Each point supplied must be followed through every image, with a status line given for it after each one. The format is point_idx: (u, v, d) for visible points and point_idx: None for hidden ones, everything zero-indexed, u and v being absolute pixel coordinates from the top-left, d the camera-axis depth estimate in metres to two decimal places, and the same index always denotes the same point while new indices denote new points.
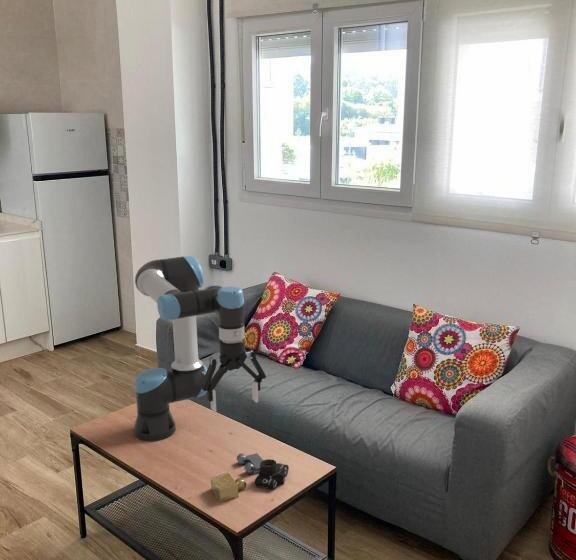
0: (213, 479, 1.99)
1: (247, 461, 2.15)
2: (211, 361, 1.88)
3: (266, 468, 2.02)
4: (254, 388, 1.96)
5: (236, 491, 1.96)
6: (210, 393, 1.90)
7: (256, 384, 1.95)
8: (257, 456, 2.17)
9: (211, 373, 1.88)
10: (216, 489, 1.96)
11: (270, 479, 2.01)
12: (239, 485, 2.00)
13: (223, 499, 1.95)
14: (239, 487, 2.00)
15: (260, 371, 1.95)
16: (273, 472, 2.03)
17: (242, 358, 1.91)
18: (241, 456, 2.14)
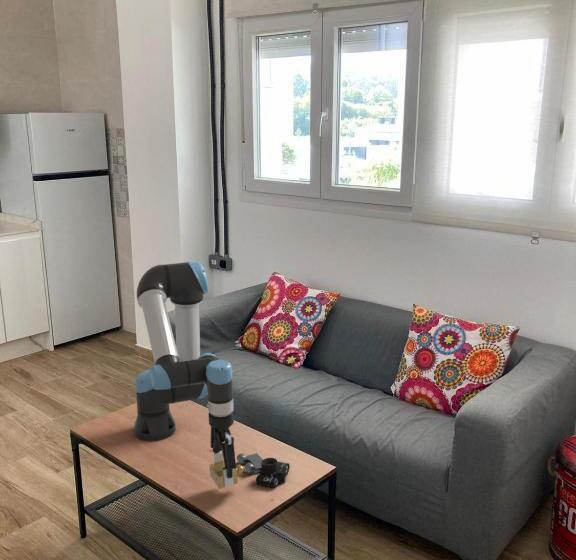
0: (212, 466, 1.99)
1: (247, 461, 2.15)
2: None
3: (267, 466, 2.03)
4: None
5: (235, 478, 1.95)
6: None
7: None
8: (257, 456, 2.17)
9: (211, 433, 2.00)
10: (215, 476, 1.96)
11: (271, 477, 2.02)
12: (238, 472, 1.99)
13: (222, 486, 1.94)
14: (238, 474, 1.99)
15: (226, 460, 1.90)
16: (275, 470, 2.04)
17: (221, 434, 1.91)
18: (241, 456, 2.14)
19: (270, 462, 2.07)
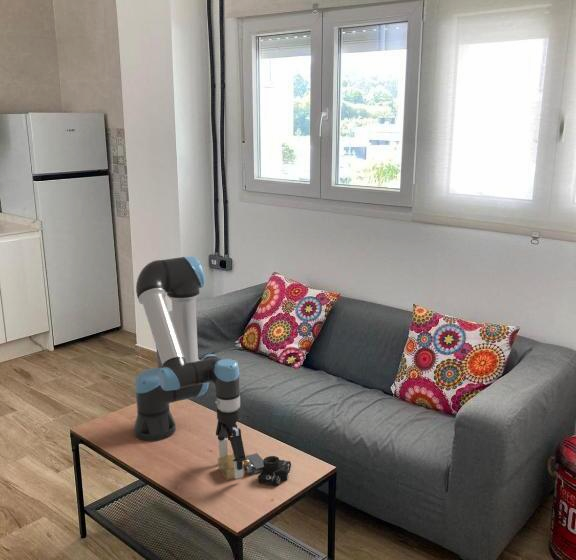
0: (220, 459, 2.11)
1: None
2: None
3: (269, 465, 2.04)
4: None
5: None
6: (219, 441, 2.15)
7: (234, 461, 2.02)
8: (257, 456, 2.17)
9: (218, 424, 2.13)
10: (223, 469, 2.08)
11: (273, 475, 2.03)
12: None
13: (230, 478, 2.06)
14: None
15: (236, 452, 2.00)
16: (277, 468, 2.05)
17: (229, 429, 2.04)
18: None
19: (272, 460, 2.08)
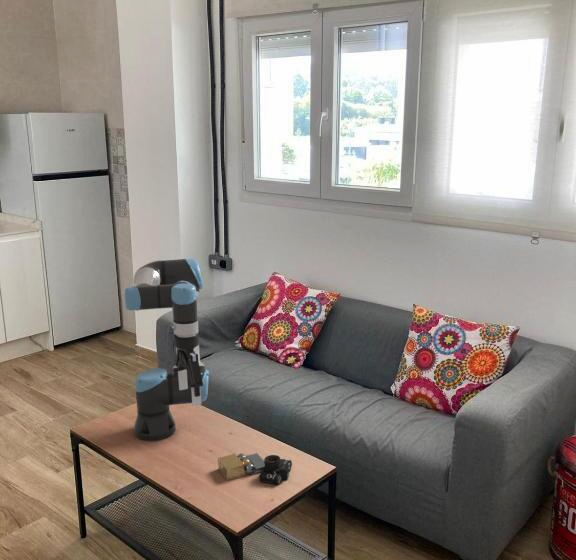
0: (220, 459, 2.11)
1: None
2: None
3: (270, 463, 2.05)
4: None
5: (242, 470, 2.08)
6: None
7: (191, 388, 1.97)
8: (257, 456, 2.17)
9: (177, 354, 2.07)
10: (223, 469, 2.08)
11: (274, 474, 2.04)
12: None
13: (230, 478, 2.06)
14: None
15: (193, 377, 1.94)
16: (277, 467, 2.06)
17: (186, 355, 1.98)
18: (241, 456, 2.14)
19: (273, 459, 2.08)
